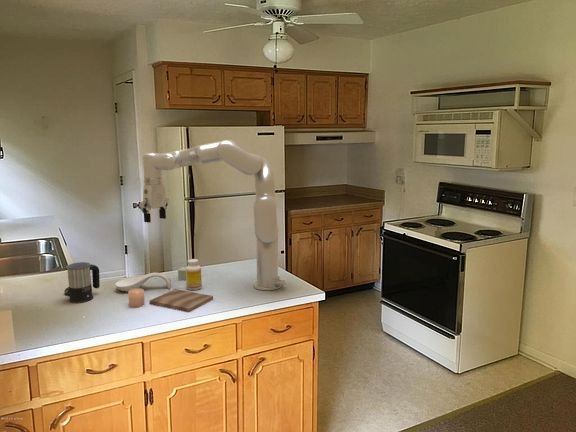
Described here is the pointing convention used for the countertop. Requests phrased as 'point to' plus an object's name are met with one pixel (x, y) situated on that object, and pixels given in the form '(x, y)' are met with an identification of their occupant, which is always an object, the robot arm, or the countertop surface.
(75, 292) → the milk frother
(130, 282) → the spoon rest
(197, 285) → the supplement bottle
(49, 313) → the countertop surface
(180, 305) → the walnut board
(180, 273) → the sage block
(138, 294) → the peach rounded capsule
